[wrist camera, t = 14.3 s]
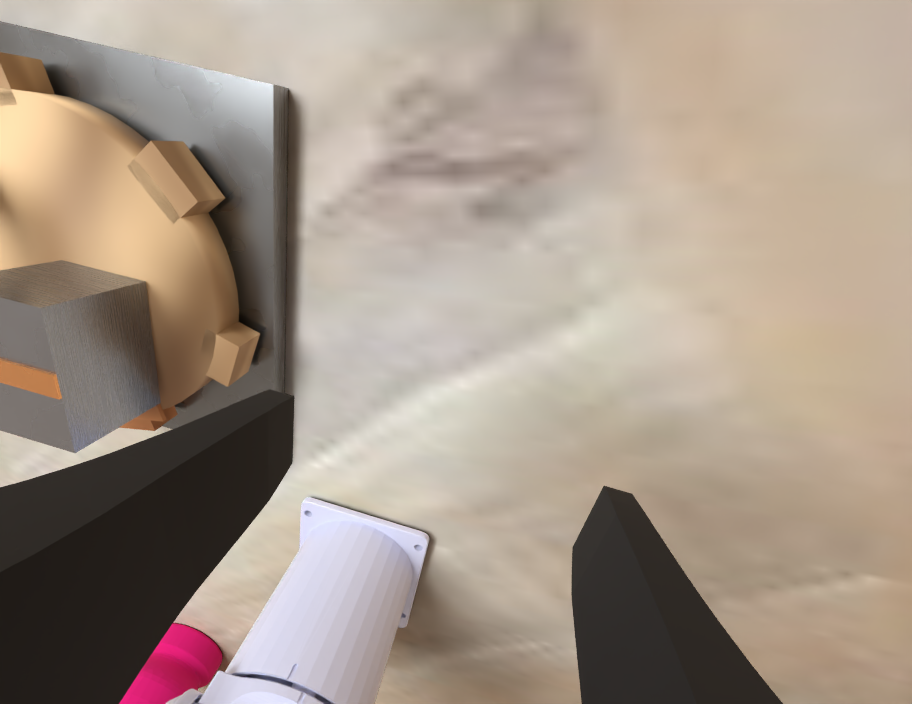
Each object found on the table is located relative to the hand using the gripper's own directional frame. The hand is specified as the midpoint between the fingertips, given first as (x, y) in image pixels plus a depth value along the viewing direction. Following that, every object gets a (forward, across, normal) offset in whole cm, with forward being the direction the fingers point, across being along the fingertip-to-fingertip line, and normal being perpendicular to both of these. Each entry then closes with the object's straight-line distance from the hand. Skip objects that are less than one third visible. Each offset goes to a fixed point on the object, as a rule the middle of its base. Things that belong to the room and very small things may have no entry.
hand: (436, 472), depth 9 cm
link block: (+7, +16, +4) cm, 18 cm away
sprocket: (+9, +18, +2) cm, 20 cm away
